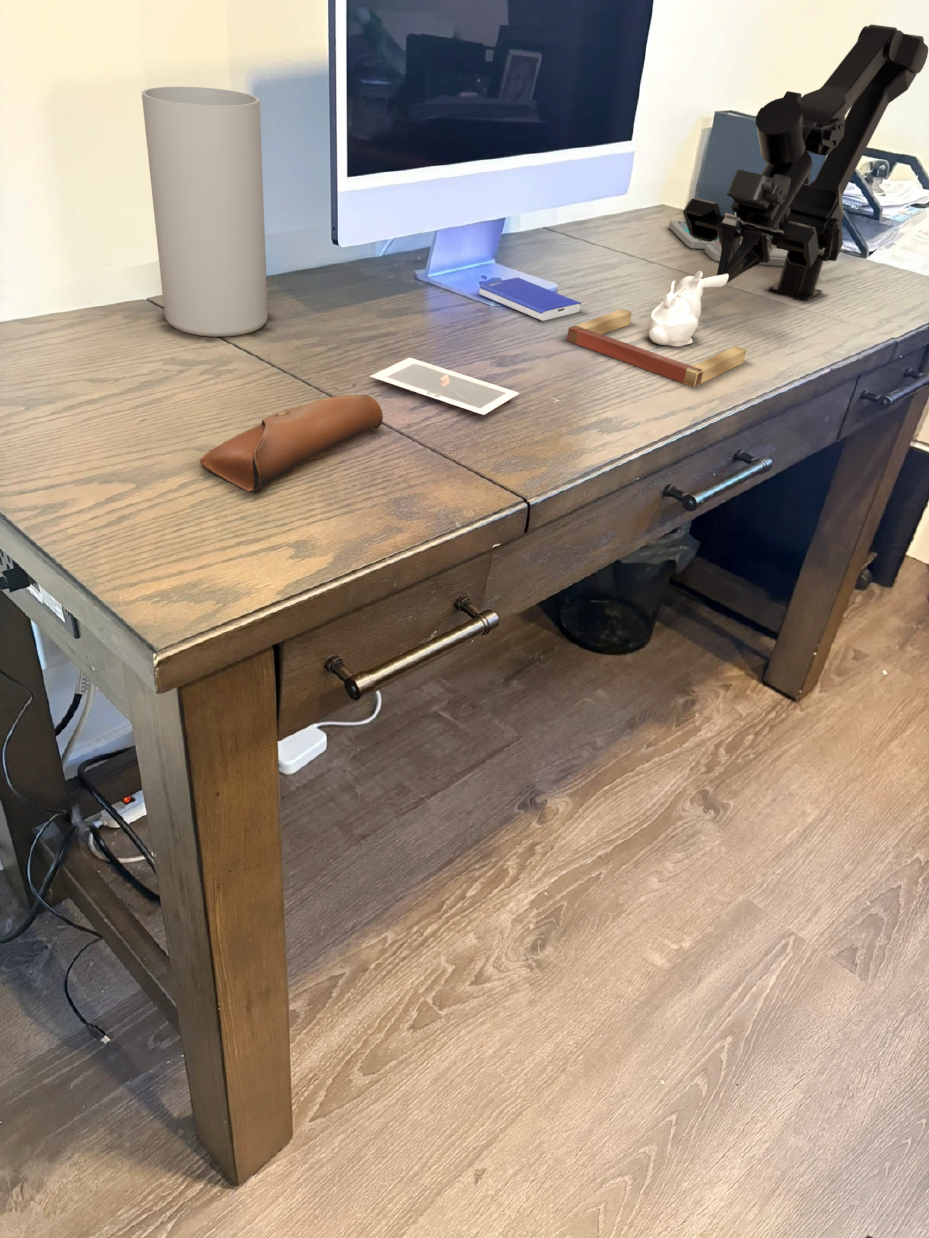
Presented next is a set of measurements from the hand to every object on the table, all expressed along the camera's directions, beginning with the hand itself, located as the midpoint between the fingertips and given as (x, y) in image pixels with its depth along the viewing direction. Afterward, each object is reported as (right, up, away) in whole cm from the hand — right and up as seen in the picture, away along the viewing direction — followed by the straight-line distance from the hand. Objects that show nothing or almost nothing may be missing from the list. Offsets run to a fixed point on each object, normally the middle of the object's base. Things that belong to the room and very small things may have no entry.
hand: (718, 284), depth 127 cm
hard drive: (-25, -1, +6) cm, 26 cm away
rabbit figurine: (-5, -8, -1) cm, 10 cm away
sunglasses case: (-51, -29, -36) cm, 70 cm away
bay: (-10, -11, -5) cm, 16 cm away
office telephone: (+15, +23, +44) cm, 52 cm away
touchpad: (-37, -21, -22) cm, 48 cm away
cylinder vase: (-66, -8, -10) cm, 67 cm away
